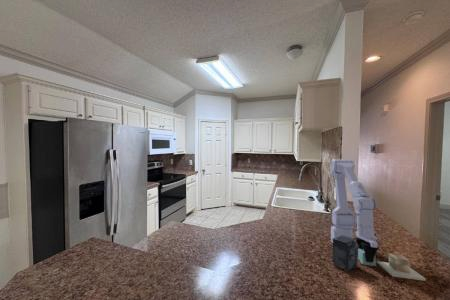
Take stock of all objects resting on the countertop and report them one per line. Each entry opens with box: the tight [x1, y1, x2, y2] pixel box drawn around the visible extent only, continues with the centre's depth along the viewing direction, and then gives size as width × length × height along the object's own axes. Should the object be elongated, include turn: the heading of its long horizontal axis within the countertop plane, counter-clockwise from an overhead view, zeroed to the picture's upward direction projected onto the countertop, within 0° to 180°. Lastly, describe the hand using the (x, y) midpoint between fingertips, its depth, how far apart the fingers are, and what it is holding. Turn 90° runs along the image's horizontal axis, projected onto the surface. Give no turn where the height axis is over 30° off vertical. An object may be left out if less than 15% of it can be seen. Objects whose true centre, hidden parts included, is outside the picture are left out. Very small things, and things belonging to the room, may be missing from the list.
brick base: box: [387, 253, 411, 273], centre depth 73 cm, size 4×4×4 cm
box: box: [332, 236, 358, 272], centre depth 76 cm, size 8×6×11 cm
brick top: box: [357, 248, 377, 267], centre depth 80 cm, size 4×4×4 cm
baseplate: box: [376, 261, 426, 282], centre depth 73 cm, size 10×10×1 cm
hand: (366, 259), depth 80 cm, fingers closed on brick top, 4 cm apart
